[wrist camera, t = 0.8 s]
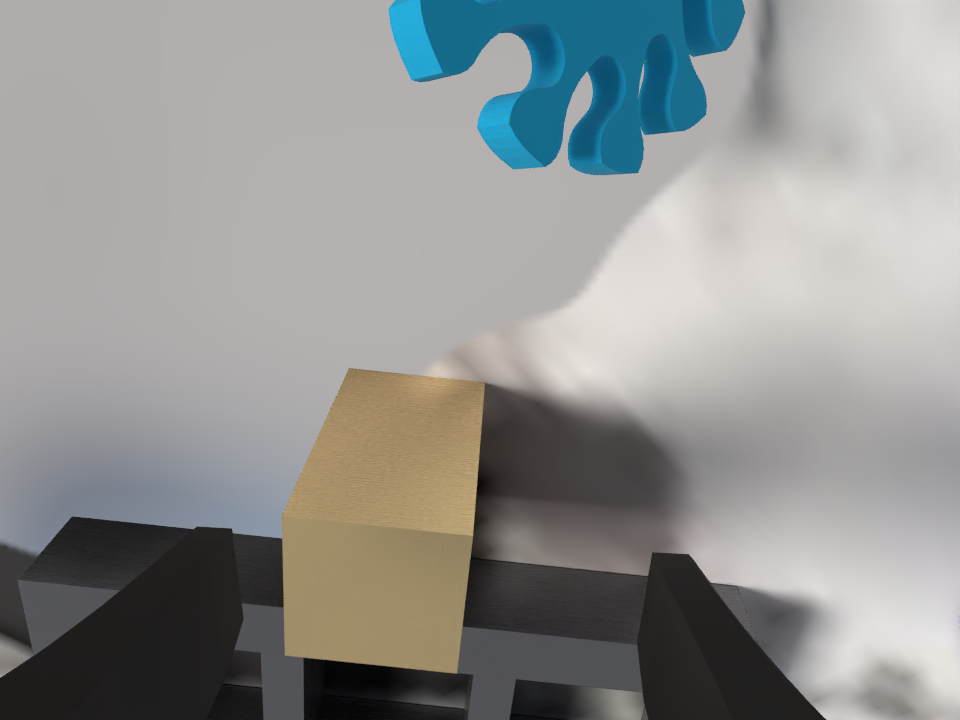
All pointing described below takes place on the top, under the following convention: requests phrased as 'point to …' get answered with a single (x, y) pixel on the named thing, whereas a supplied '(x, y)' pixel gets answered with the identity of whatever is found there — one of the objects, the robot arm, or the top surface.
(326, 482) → the tan rectangular block
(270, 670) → the grey compartment tray
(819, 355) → the top surface
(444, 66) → the gear
